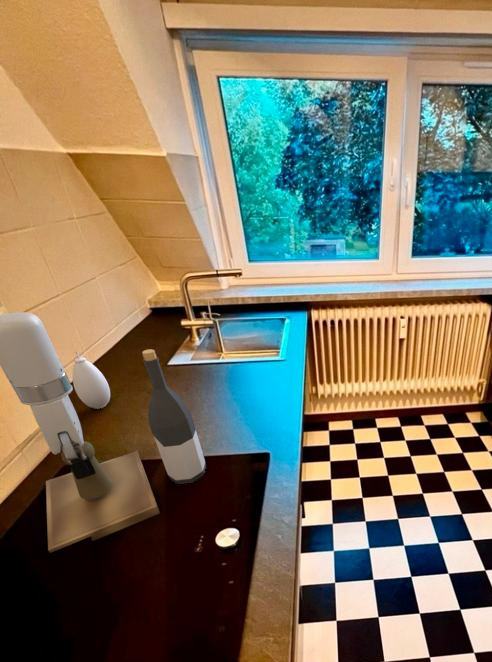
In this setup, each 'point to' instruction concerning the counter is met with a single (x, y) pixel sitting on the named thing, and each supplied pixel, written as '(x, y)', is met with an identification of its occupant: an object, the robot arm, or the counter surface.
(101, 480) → the pepper mill
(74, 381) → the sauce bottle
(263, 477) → the counter surface
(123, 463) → the cutting board
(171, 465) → the wine bottle
